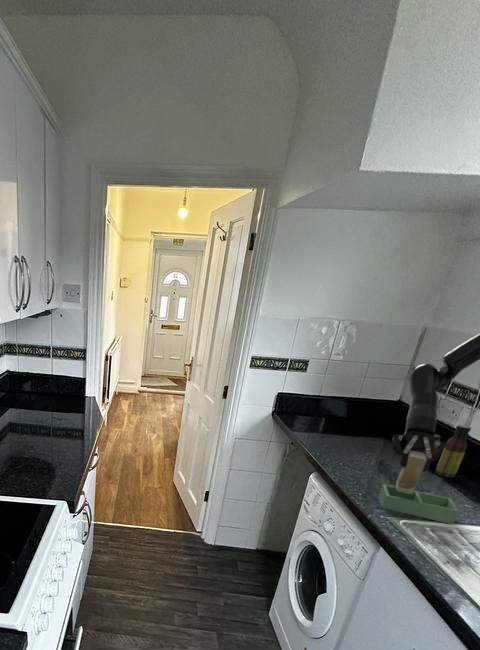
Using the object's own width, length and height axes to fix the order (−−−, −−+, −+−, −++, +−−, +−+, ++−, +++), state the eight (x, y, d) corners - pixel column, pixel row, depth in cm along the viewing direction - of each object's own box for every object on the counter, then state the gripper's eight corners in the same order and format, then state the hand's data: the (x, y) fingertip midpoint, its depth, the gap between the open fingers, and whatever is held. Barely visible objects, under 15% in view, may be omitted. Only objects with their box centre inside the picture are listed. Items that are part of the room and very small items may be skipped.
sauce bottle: (456, 476, 160) (479, 428, 151) (450, 479, 156) (474, 430, 148) (436, 469, 165) (458, 422, 156) (430, 473, 161) (452, 425, 153)
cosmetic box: (395, 483, 135) (408, 449, 130) (411, 487, 133) (425, 452, 128) (396, 491, 130) (410, 455, 125) (412, 495, 128) (427, 459, 123)
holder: (445, 510, 133) (450, 498, 131) (452, 524, 125) (459, 511, 123) (378, 496, 140) (383, 484, 138) (381, 508, 132) (386, 495, 130)
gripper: (398, 411, 132) (390, 458, 126) (454, 419, 126) (448, 469, 121) (390, 422, 138) (383, 468, 133) (443, 430, 132) (437, 478, 127)
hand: (414, 468), depth 127 cm, fingers closed on cosmetic box, 4 cm apart
